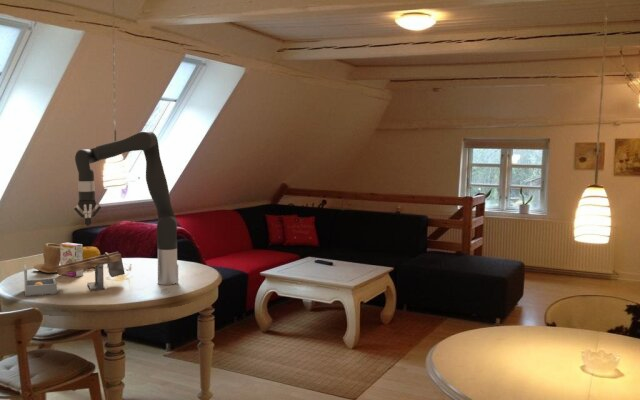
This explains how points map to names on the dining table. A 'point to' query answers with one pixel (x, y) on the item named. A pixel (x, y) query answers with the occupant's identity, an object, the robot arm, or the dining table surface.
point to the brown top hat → (50, 258)
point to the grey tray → (46, 288)
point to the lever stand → (97, 279)
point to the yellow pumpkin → (90, 252)
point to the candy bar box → (71, 256)
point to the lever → (95, 264)
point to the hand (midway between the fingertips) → (87, 225)
